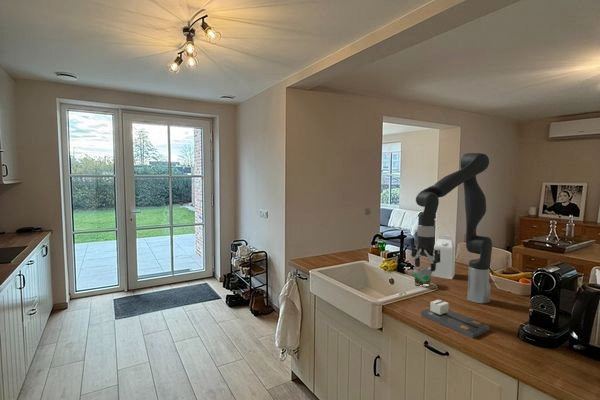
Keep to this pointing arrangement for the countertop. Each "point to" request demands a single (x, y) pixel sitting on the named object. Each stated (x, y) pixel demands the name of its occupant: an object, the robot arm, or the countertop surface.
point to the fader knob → (439, 306)
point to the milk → (445, 257)
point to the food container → (422, 276)
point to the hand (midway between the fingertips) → (425, 268)
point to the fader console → (457, 322)
